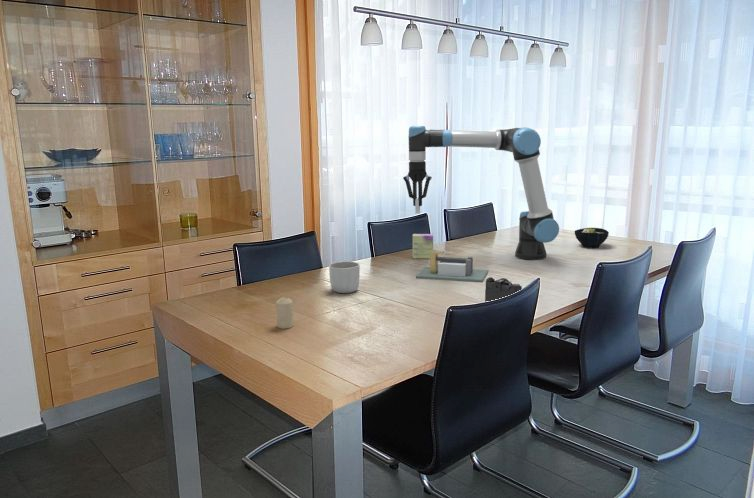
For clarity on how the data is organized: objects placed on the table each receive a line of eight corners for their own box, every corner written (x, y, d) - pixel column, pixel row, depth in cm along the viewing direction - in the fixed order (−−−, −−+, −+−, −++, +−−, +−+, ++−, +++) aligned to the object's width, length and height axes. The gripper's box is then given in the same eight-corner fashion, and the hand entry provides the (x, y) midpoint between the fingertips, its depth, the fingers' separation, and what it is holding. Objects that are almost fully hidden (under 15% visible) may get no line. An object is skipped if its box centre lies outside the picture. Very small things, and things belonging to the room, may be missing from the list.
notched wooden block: (444, 270, 264) (444, 250, 262) (442, 273, 259) (442, 253, 257) (432, 270, 265) (432, 250, 264) (430, 272, 261) (430, 252, 259)
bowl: (610, 245, 316) (611, 226, 314) (604, 251, 301) (605, 232, 299) (578, 242, 325) (579, 224, 323) (570, 248, 310) (571, 229, 308)
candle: (277, 323, 201) (276, 295, 199) (294, 323, 201) (292, 295, 199) (276, 329, 196) (274, 300, 194) (293, 328, 196) (291, 299, 194)
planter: (337, 296, 232) (336, 269, 229) (325, 289, 242) (324, 263, 240) (365, 292, 237) (364, 265, 235) (352, 285, 248) (351, 260, 246)
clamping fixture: (488, 272, 264) (488, 254, 263) (482, 282, 247) (482, 263, 246) (425, 268, 273) (425, 251, 272) (415, 278, 257) (415, 260, 255)
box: (433, 256, 299) (433, 233, 297) (433, 258, 294) (433, 235, 291) (412, 256, 300) (412, 233, 298) (412, 258, 295) (412, 235, 292)
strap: (471, 261, 258) (471, 258, 258) (470, 263, 255) (470, 259, 255) (437, 259, 263) (437, 256, 262) (436, 260, 260) (436, 257, 259)
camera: (531, 304, 216) (532, 278, 214) (516, 311, 209) (516, 284, 207) (498, 297, 226) (498, 272, 224) (482, 303, 218) (482, 277, 216)
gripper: (433, 160, 264) (433, 212, 268) (405, 160, 268) (406, 211, 273) (429, 161, 257) (429, 214, 261) (400, 161, 261) (401, 214, 266)
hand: (417, 213), depth 267 cm, fingers closed
